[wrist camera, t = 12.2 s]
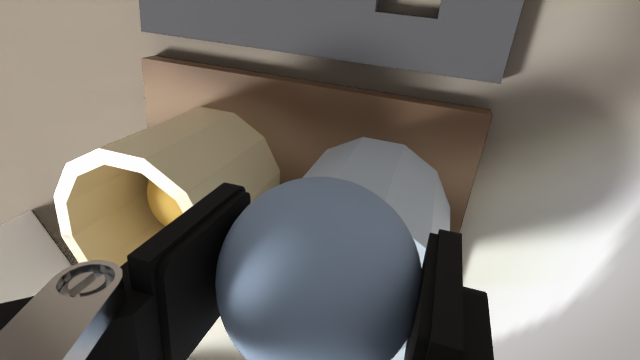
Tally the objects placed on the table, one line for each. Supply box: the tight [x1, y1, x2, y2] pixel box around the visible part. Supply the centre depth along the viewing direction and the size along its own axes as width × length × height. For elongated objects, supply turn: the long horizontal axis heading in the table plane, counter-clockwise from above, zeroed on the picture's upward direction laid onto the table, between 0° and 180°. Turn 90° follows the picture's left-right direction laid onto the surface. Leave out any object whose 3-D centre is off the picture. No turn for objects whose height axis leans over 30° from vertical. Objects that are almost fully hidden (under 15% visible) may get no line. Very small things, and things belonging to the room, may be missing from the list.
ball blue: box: [215, 177, 422, 360], centre depth 10 cm, size 5×5×5 cm
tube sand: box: [53, 107, 280, 267], centre depth 23 cm, size 8×8×8 cm
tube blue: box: [303, 137, 450, 360], centre depth 20 cm, size 8×8×8 cm
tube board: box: [142, 56, 492, 233], centre depth 22 cm, size 30×24×1 cm
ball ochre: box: [147, 179, 183, 226], centre depth 24 cm, size 5×5×5 cm
